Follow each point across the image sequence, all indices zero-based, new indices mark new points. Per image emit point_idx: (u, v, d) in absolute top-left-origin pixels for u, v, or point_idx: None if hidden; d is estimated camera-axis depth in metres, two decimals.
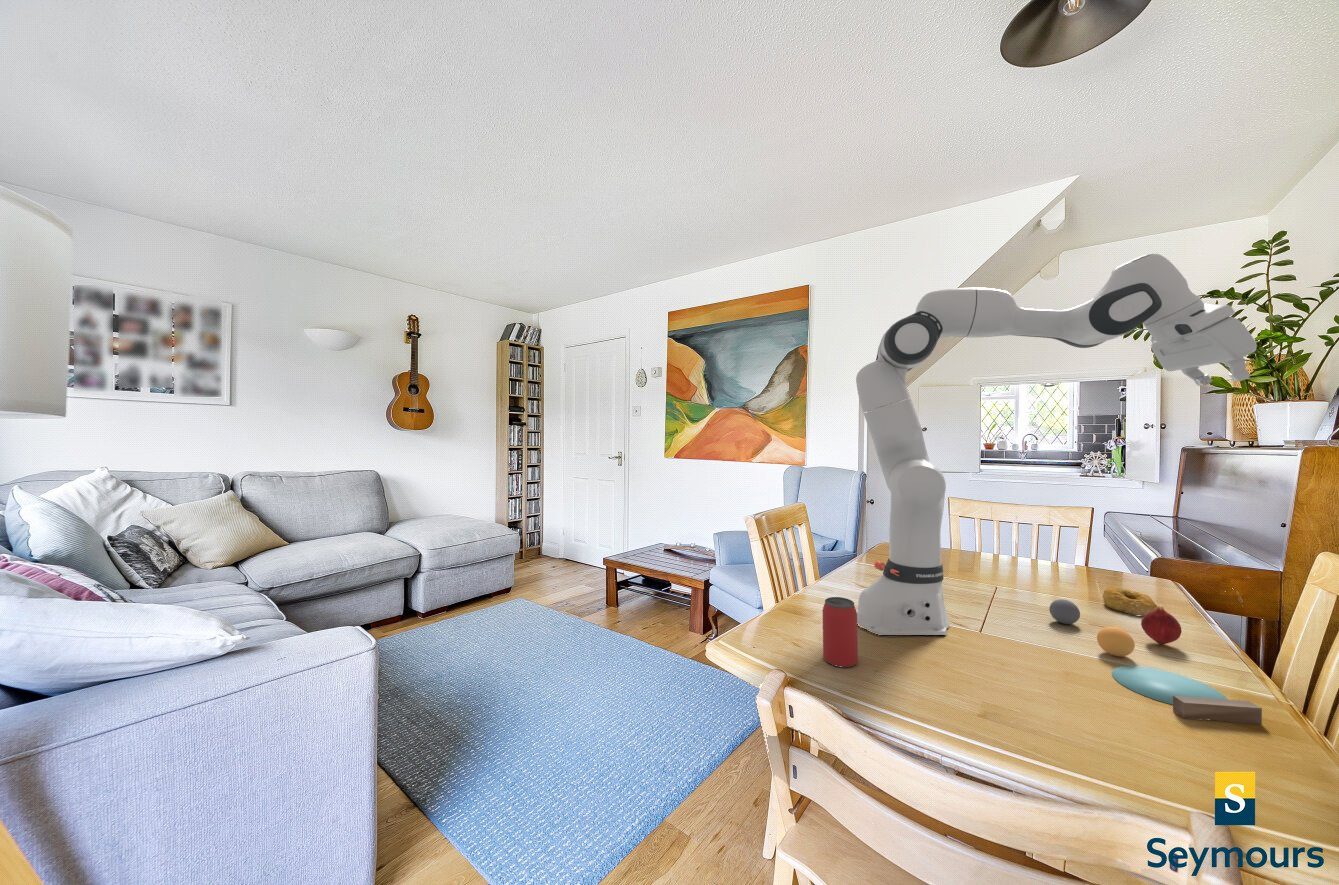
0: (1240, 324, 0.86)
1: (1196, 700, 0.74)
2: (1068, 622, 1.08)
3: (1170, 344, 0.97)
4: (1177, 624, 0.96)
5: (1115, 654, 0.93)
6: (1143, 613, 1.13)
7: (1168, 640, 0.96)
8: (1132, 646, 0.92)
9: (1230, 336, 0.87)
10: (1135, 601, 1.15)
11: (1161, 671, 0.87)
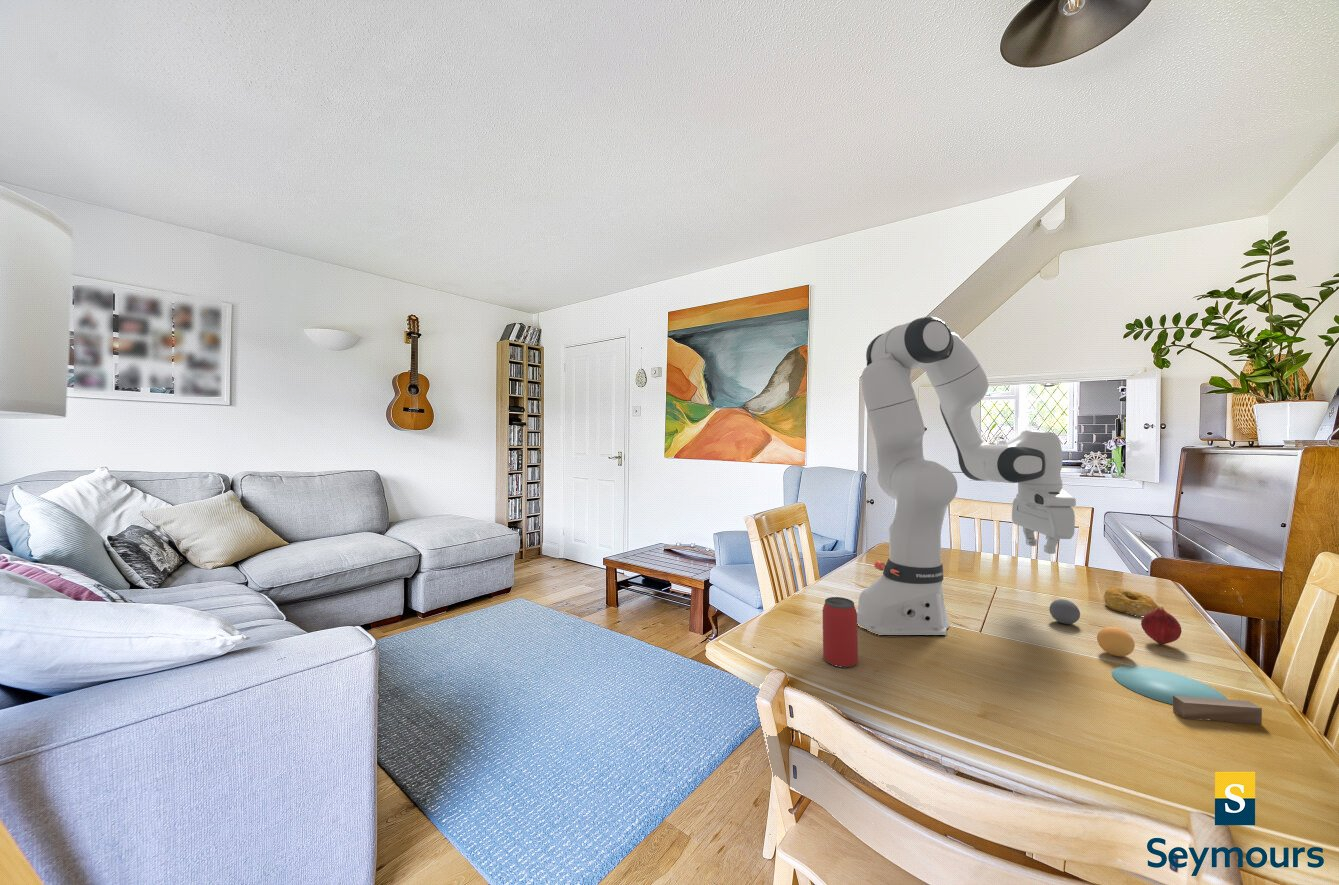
0: (1073, 515, 1.09)
1: (1196, 700, 0.74)
2: (1068, 622, 1.08)
3: (1025, 505, 1.20)
4: (1177, 624, 0.96)
5: (1115, 654, 0.93)
6: (1145, 614, 1.12)
7: (1168, 640, 0.96)
8: (1132, 646, 0.92)
9: (1062, 520, 1.09)
10: (1136, 601, 1.14)
11: (1161, 671, 0.87)
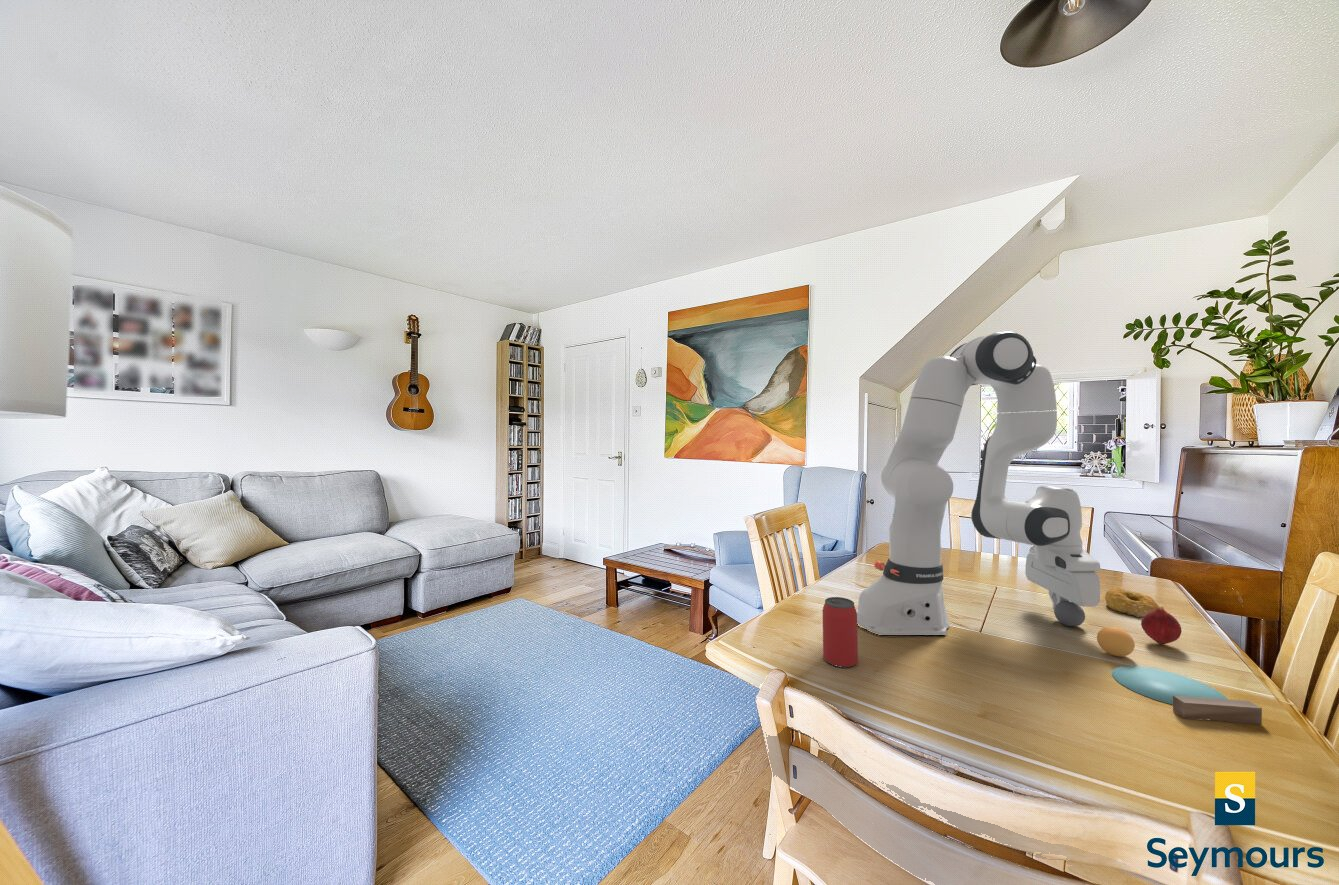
0: (1098, 582, 1.03)
1: (1196, 700, 0.74)
2: (1071, 625, 1.07)
3: (1043, 565, 1.13)
4: (1177, 624, 0.96)
5: (1115, 654, 0.93)
6: None
7: (1168, 640, 0.96)
8: (1132, 646, 0.92)
9: (1087, 587, 1.03)
10: (1137, 602, 1.14)
11: (1161, 671, 0.87)
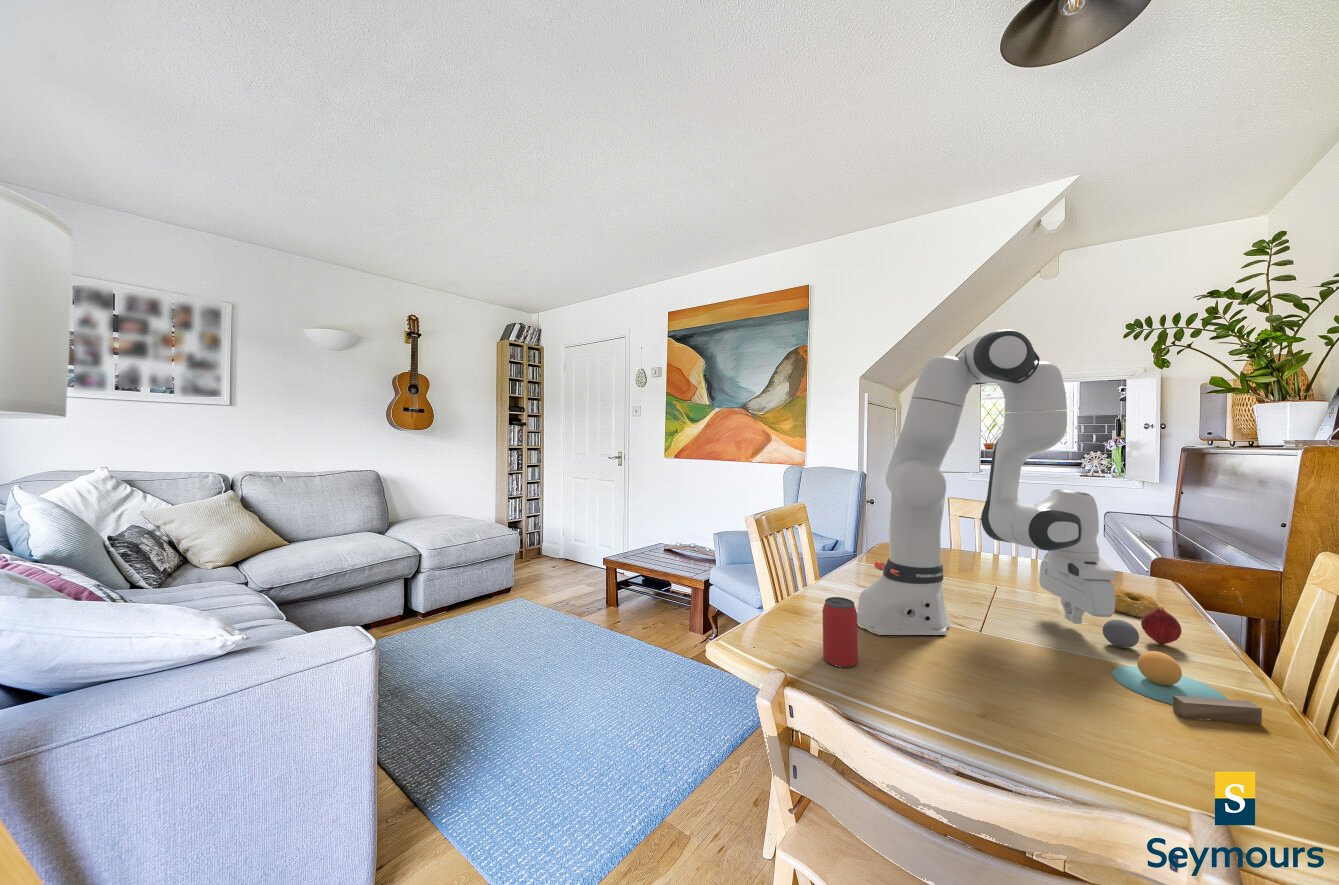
0: (1113, 591, 0.97)
1: (1196, 700, 0.74)
2: None
3: (1056, 572, 1.08)
4: (1177, 624, 0.96)
5: (1154, 654, 0.84)
6: None
7: (1168, 640, 0.96)
8: None
9: (1101, 596, 0.97)
10: (1138, 603, 1.13)
11: None
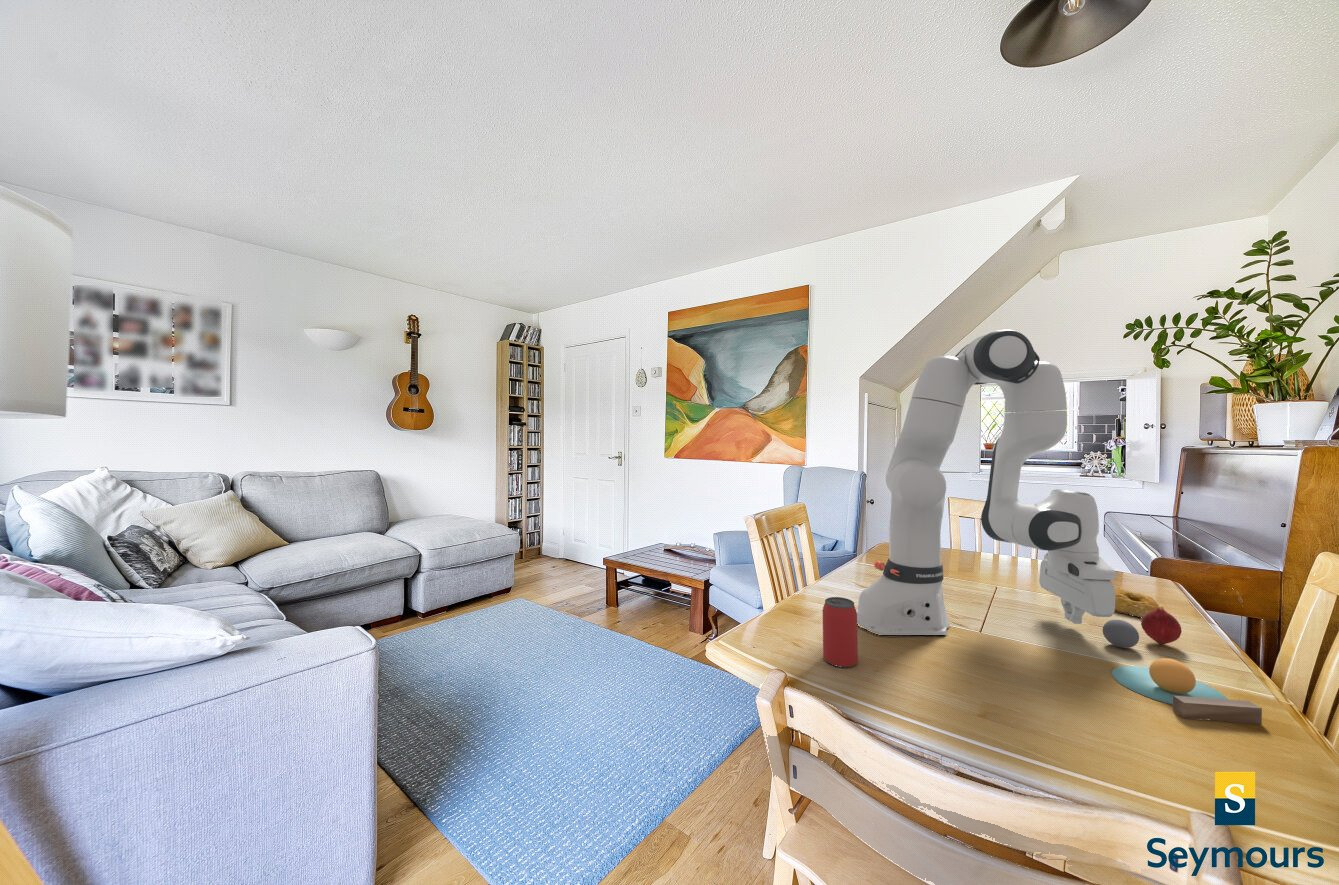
0: (1113, 591, 0.97)
1: (1196, 700, 0.74)
2: None
3: (1056, 572, 1.08)
4: (1177, 624, 0.96)
5: (1176, 675, 0.79)
6: None
7: (1168, 640, 0.96)
8: (1183, 664, 0.80)
9: (1101, 596, 0.97)
10: (1139, 603, 1.13)
11: None
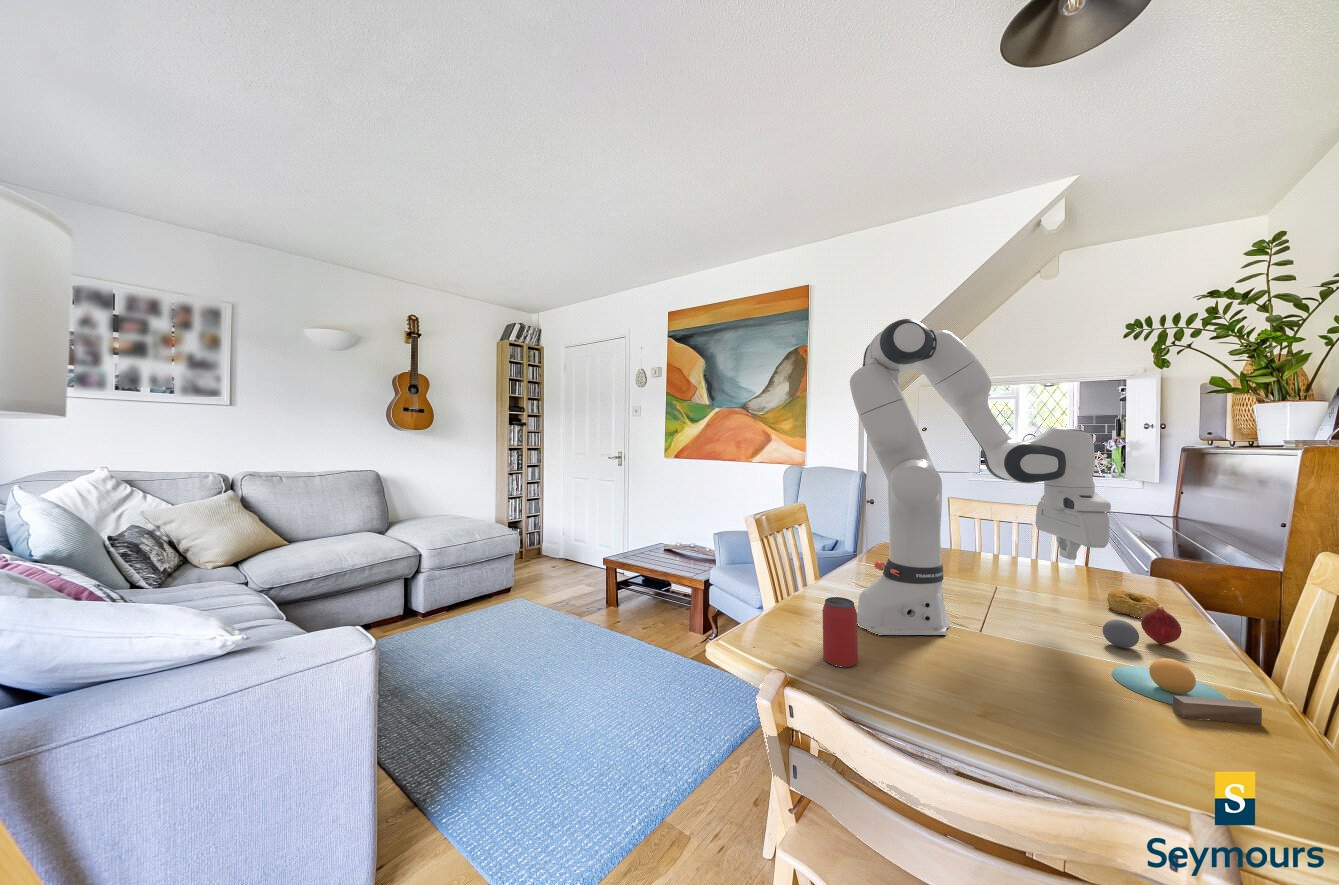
0: (1107, 522, 0.98)
1: (1196, 700, 0.74)
2: None
3: (1052, 509, 1.09)
4: (1177, 624, 0.96)
5: (1176, 675, 0.79)
6: None
7: (1168, 640, 0.96)
8: (1183, 664, 0.80)
9: (1095, 527, 0.98)
10: (1140, 604, 1.13)
11: None
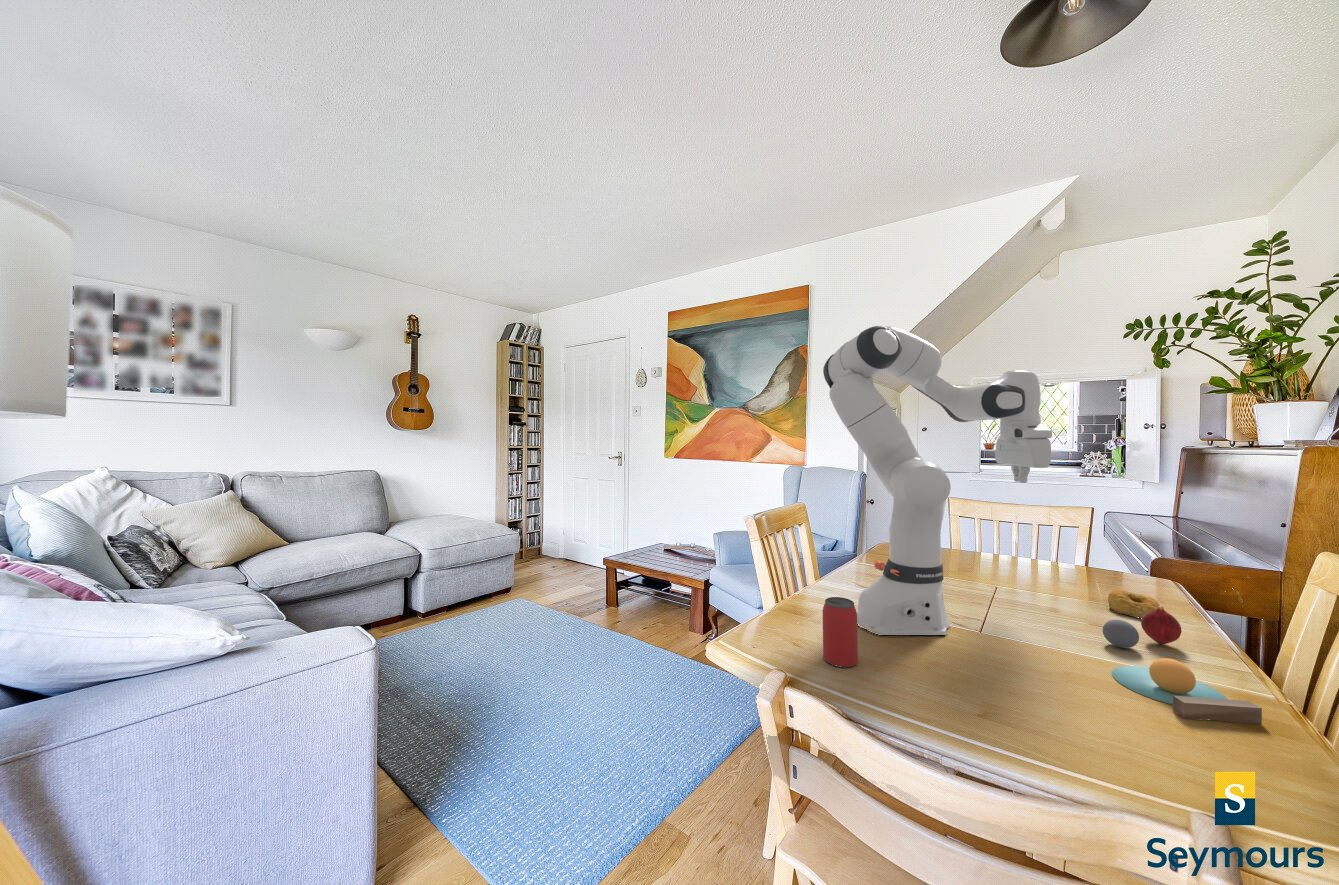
0: (1049, 445, 1.17)
1: (1196, 700, 0.74)
2: None
3: (1006, 441, 1.28)
4: (1177, 624, 0.96)
5: (1176, 675, 0.79)
6: None
7: (1168, 640, 0.96)
8: (1183, 664, 0.80)
9: (1039, 450, 1.18)
10: (1141, 604, 1.12)
11: None
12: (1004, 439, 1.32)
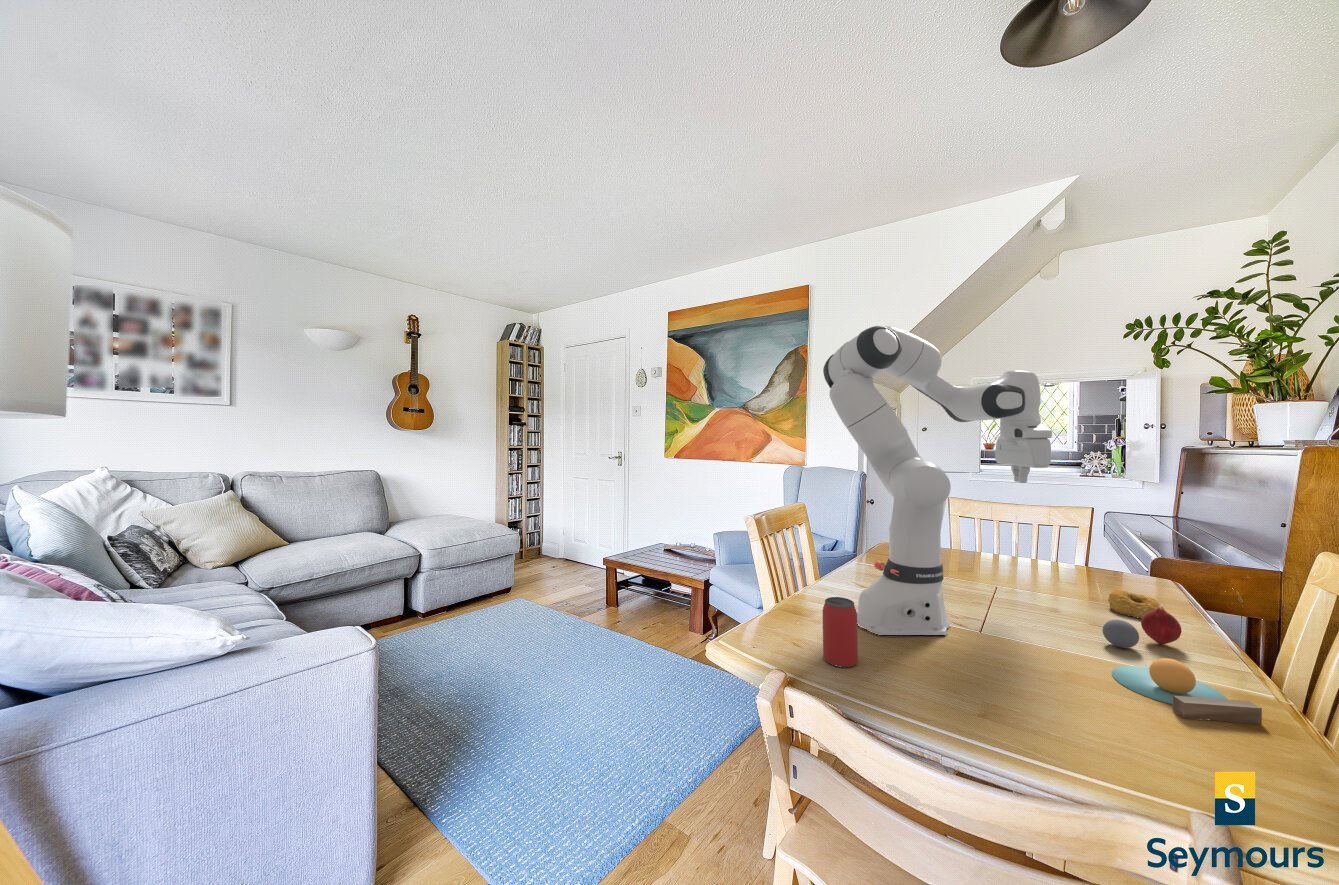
0: (1049, 445, 1.17)
1: (1196, 700, 0.74)
2: None
3: (1006, 441, 1.28)
4: (1177, 624, 0.96)
5: (1176, 675, 0.79)
6: None
7: (1168, 640, 0.96)
8: (1183, 664, 0.80)
9: (1039, 450, 1.18)
10: (1142, 604, 1.12)
11: None
12: (1004, 439, 1.32)
